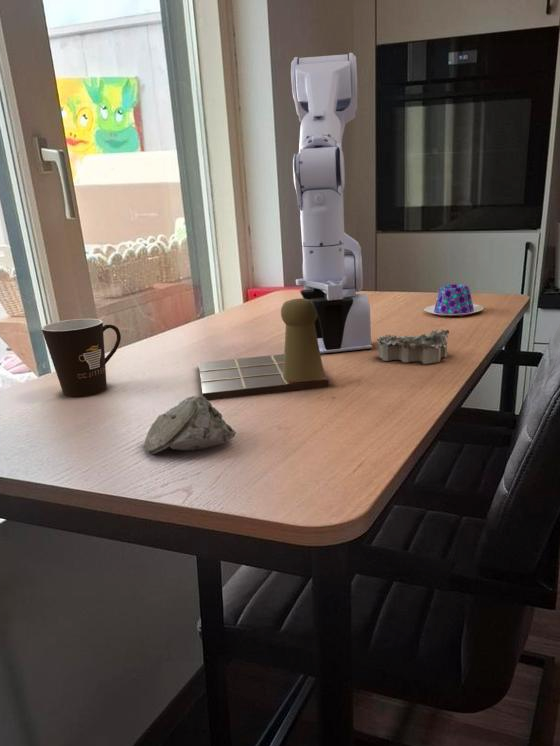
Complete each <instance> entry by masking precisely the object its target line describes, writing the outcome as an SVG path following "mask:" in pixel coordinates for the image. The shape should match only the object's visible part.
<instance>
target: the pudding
mask: <svg viewBox="0 0 560 746" xmlns="http://www.w3.org/2000/svg"><path fill="white" fill-rule="evenodd" d="M484 309H485V308H484V306H482V305H480V304H476V303H473V298H472V294H471V289H470V287H469V286H468V285H466V284H460V283H455V284H452V283H451V284H446V285H445V284H444V285H441V287H440V288H439V290H438V294H437V297H436V302H435V304H432V305H429V306H427V307H425V308H424V311H425V312H427V313H430V314H434V315H437V316H442V317H461V316H468V315H471V314H475V313H478V312H481V311H483V310H484Z"/></svg>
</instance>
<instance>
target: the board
mask: <svg viewBox="0 0 560 746" xmlns="http://www.w3.org/2000/svg"><path fill="white" fill-rule="evenodd" d="M198 367H199V376H200V385H201V392H202V397H205V398H206V399H207V400H208V401H209V400H218V399H219V400H220V399H226V398H227V399H228V398H236V397H246V396H254V395H265V394H273V393H283V392H291V391H301V390H310V389H311V390H312V389H319V388H329V387H330V384H329V379H328V378H327V376H326V375H325V374H324V376H323V377H322V378H320V379H317V380H313V381H306V382H293V381H287V380H285V379H284V378H283V370H284V353H281V354H280V353H279V354H270V355H261V356H252V357H250V356H249V357H242V358H241V357H240V358H236V357H235V358H230V359H222V360H211V361H201V362H198Z"/></svg>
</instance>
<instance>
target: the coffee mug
mask: <svg viewBox="0 0 560 746" xmlns="http://www.w3.org/2000/svg"><path fill="white" fill-rule="evenodd" d="M40 328H41V329H40V330H41V332H42V335H43V338H44V341H45V344H46V347H47V350H48V353H49V356H50V359H51V361H52V364H53V367H54V370H55V373H56V377H57V379H58V382H59V385H60V387H61V388H60V389H61V391H62V394H63V396H64V397H68V398H83V397H90V396H94V395H99V394H102V393H103V392H105V391H106V390H107V389H108V383H107V368H106V364H107V363H109V361H110V360H111V358H112V357H113V356H114V354H115V353H116V352H117V350H118V348H119V345H120V344H121V340H122V334H121V332H120V329H119V328H118V327H117V326H116V325H114V324H105V325H104V323H103V320H102V319H100V318H99V319H98V318H76V319H75V318H74V319H65V320H60V321H56V322H51V323H47V324H45V325H43V326H41V327H40ZM108 329H112V330H113V331H114V332H115V335H116V340H115V343H114V345H113V348H112V349H111V350H110V352H109V353H108V354H107V355H106V353H105V352H106V351H105V337H104V332H105V331H106V330H108Z"/></svg>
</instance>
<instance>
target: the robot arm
mask: <svg viewBox="0 0 560 746" xmlns="http://www.w3.org/2000/svg"><path fill="white" fill-rule="evenodd" d="M357 66H358V65H357V57H356V55H355V54H354V53H353V52H349V53H347V54H344V53H343V54H333V55H321V56H308V57H299V56H294V57H293V59H292V61H291V63H290V78H291V79H290V81H291V92H292V97H293V101H294V105H295V110H296V114H297V116H298V120H299V122H300V127H299V128H300V129H299V145H298V153H297V154H296V153H293V159H292V174H293V175H292V177H293V184H294V188H295V194H296V201H297V202H296V203H297V210H298V211H299V212H300V215H299V217H300V232H301V233H300V234H301V235H300V236H301V249H302V278H297V279H295V285H296V286H303V289H301V290H300V291H299V293H300V295H301V297H302V299H309V300H310V302H311V304H312V305H313V307H314V309H315V311H316V314H317V319H316V321H315V322H314V323H315V329H316V334H317V339H318V345H319V350H320V354H329V353H330V354H331V353H339V352H348V351H359V350H369V349H372V348H373V345H372V330H371V329H372V328H371V306H370V301H369V297H368V294H367V293H361V290H362V289H363V287H364V286H363V285H364V283H363V282H364V281H363V279H364V277H363V256H362V246H360V243H359V242H358V240H356V239H354V238H353V237H352V236H350V235H349V234H347V233H346V232H345V207H344V205H345V204H344V191H345V185H346V175H345V174H346V172H345V169H346V168H345V156H344V152H343V137H344V132H345V128H346V125H347V124H348V123H349V122H351V121H353V120H354V119H355V118H356V117H357V116H356V112H357V111H358V69H357Z"/></svg>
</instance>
